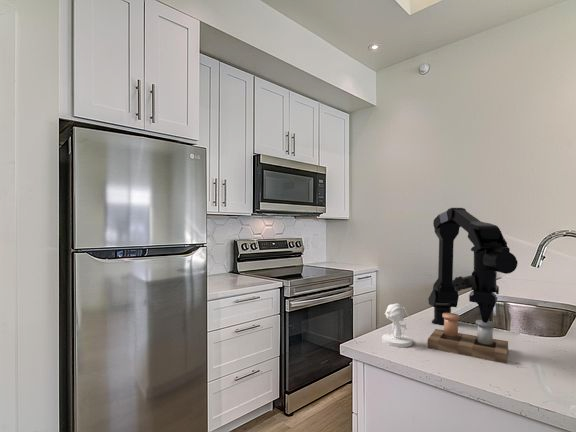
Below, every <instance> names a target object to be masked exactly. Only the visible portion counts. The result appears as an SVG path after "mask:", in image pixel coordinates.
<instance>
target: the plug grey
mask: <svg viewBox="0 0 576 432" xmlns="http://www.w3.org/2000/svg"><path fill="white" fill-rule="evenodd" d="M475 325H476V326H477V336H478V342H479V343H481V344H486V345H491V344H493V339H494V337H493V336H494V335H493V334H494V333H493V332H494V329H493V328H495V326H496V325H495V322H494V321H491V320H488V322H487V323H485V322H483V321H482V319H476V320H475Z"/></svg>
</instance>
